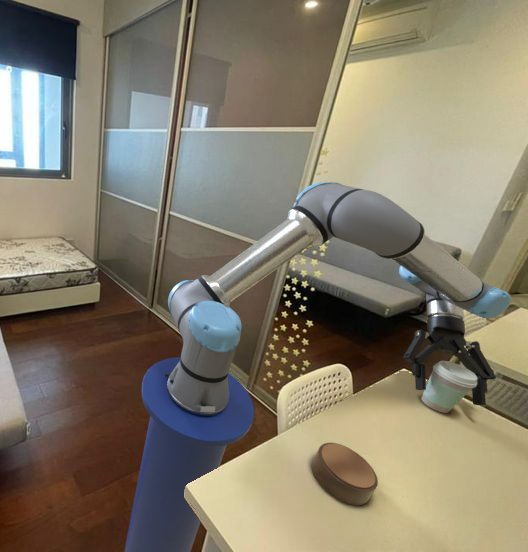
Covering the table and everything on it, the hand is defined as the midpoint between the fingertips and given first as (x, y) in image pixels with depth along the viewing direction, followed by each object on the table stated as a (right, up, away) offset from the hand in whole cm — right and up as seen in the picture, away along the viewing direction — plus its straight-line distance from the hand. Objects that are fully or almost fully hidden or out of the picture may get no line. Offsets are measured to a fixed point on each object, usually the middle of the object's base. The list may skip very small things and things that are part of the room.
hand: (449, 397), depth 83 cm
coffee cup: (0, -4, +4) cm, 6 cm away
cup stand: (-42, -9, -19) cm, 47 cm away
